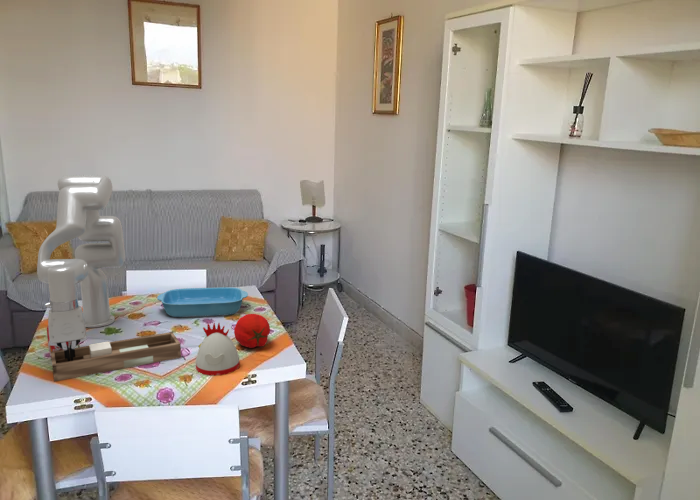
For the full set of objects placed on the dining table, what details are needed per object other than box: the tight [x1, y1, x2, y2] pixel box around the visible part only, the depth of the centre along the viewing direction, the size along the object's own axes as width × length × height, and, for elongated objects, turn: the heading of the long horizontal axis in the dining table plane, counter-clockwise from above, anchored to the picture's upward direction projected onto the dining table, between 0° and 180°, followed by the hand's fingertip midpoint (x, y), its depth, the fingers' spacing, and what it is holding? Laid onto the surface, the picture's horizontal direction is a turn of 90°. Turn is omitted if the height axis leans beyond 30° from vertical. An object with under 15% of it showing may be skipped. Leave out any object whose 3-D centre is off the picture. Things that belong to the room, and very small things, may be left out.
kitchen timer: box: [195, 322, 240, 376], centre depth 178 cm, size 14×14×15 cm
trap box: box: [50, 331, 182, 382], centre depth 180 cm, size 12×38×5 cm, turn 120°
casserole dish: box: [156, 286, 249, 318], centre depth 231 cm, size 37×22×7 cm, turn 102°
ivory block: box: [88, 340, 112, 357], centre depth 178 cm, size 6×6×4 cm
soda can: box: [46, 326, 71, 357], centre depth 184 cm, size 7×7×12 cm
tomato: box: [233, 313, 271, 349], centre depth 196 cm, size 13×13×13 cm
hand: (70, 359), depth 173 cm, fingers closed
